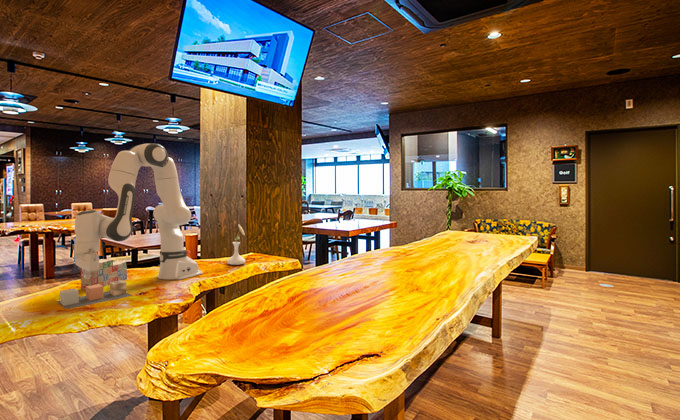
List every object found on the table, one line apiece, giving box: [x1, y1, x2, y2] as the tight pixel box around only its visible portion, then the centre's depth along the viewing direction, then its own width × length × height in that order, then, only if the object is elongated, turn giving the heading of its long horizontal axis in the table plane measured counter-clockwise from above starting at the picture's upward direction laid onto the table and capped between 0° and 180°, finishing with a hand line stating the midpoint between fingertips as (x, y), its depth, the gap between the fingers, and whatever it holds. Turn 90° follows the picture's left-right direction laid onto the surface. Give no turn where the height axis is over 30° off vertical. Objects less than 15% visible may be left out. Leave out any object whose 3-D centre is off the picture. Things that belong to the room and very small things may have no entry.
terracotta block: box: [85, 284, 105, 300], centre depth 155 cm, size 5×5×5 cm
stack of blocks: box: [80, 258, 128, 290], centre depth 177 cm, size 21×6×12 cm, turn 171°
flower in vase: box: [226, 223, 246, 266], centre depth 227 cm, size 13×11×25 cm
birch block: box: [109, 280, 127, 296], centre depth 162 cm, size 5×5×5 cm
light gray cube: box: [59, 288, 80, 306], centre depth 148 cm, size 5×5×5 cm
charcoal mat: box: [56, 290, 133, 310], centre depth 155 cm, size 24×14×1 cm, turn 141°
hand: (86, 278), depth 159 cm, fingers closed
